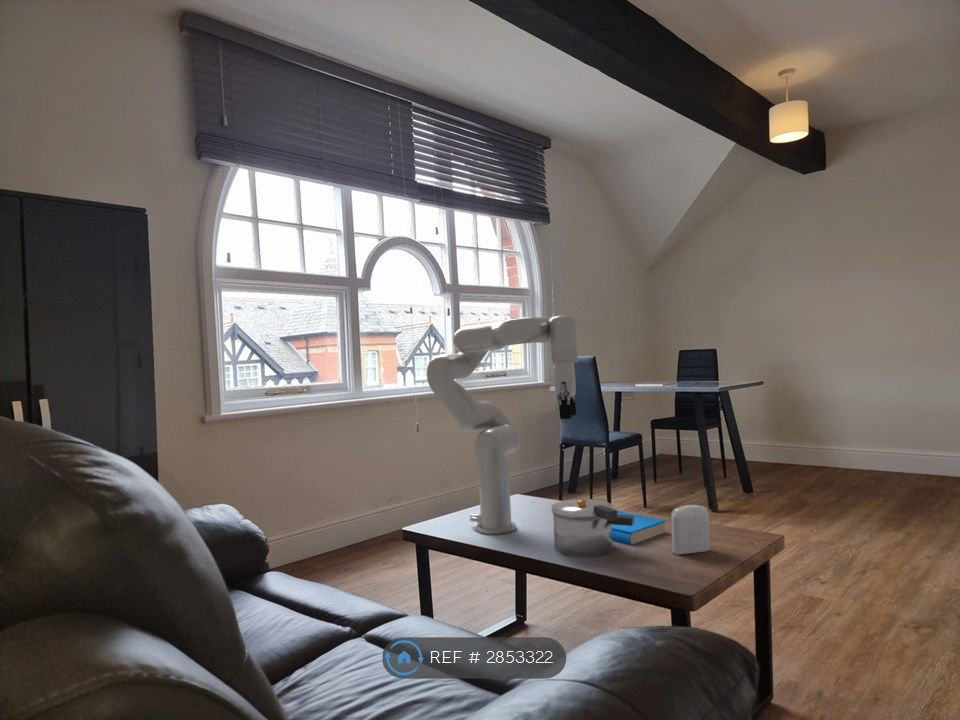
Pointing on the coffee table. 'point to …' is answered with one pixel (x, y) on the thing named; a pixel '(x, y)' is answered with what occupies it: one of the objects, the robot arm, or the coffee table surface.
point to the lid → (584, 509)
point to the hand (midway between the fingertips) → (568, 417)
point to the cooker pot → (586, 535)
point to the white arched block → (690, 529)
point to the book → (637, 529)
